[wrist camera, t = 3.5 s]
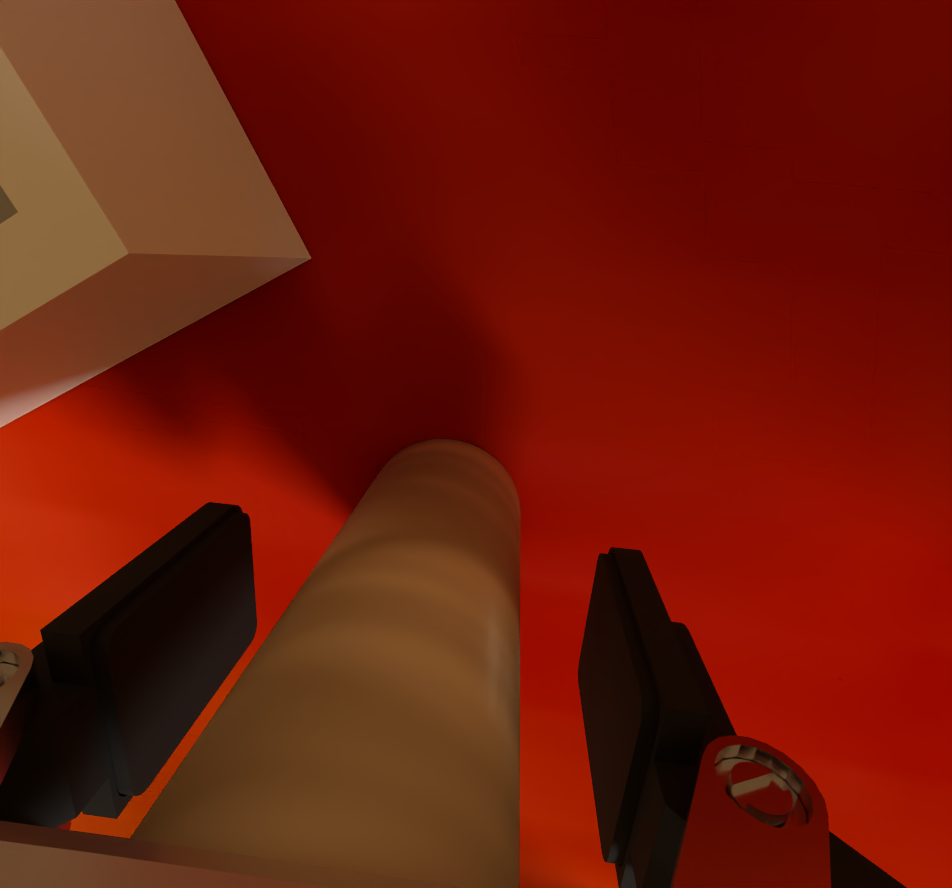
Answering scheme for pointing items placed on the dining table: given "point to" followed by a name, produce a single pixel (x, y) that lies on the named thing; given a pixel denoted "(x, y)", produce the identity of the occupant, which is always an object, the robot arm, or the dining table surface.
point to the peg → (380, 695)
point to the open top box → (118, 192)
